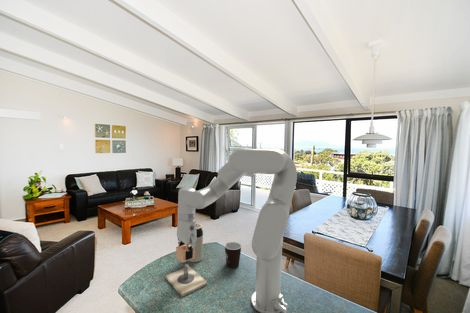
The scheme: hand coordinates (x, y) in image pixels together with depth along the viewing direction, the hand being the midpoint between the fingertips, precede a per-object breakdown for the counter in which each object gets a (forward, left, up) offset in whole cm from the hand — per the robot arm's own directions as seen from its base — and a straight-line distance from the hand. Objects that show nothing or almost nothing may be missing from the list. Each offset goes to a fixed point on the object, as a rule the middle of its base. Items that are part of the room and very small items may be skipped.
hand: (185, 255), depth 94 cm
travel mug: (+14, -13, -12) cm, 22 cm away
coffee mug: (-2, -26, -12) cm, 29 cm away
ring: (0, 0, -1) cm, 1 cm away
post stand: (0, 0, -12) cm, 12 cm away
